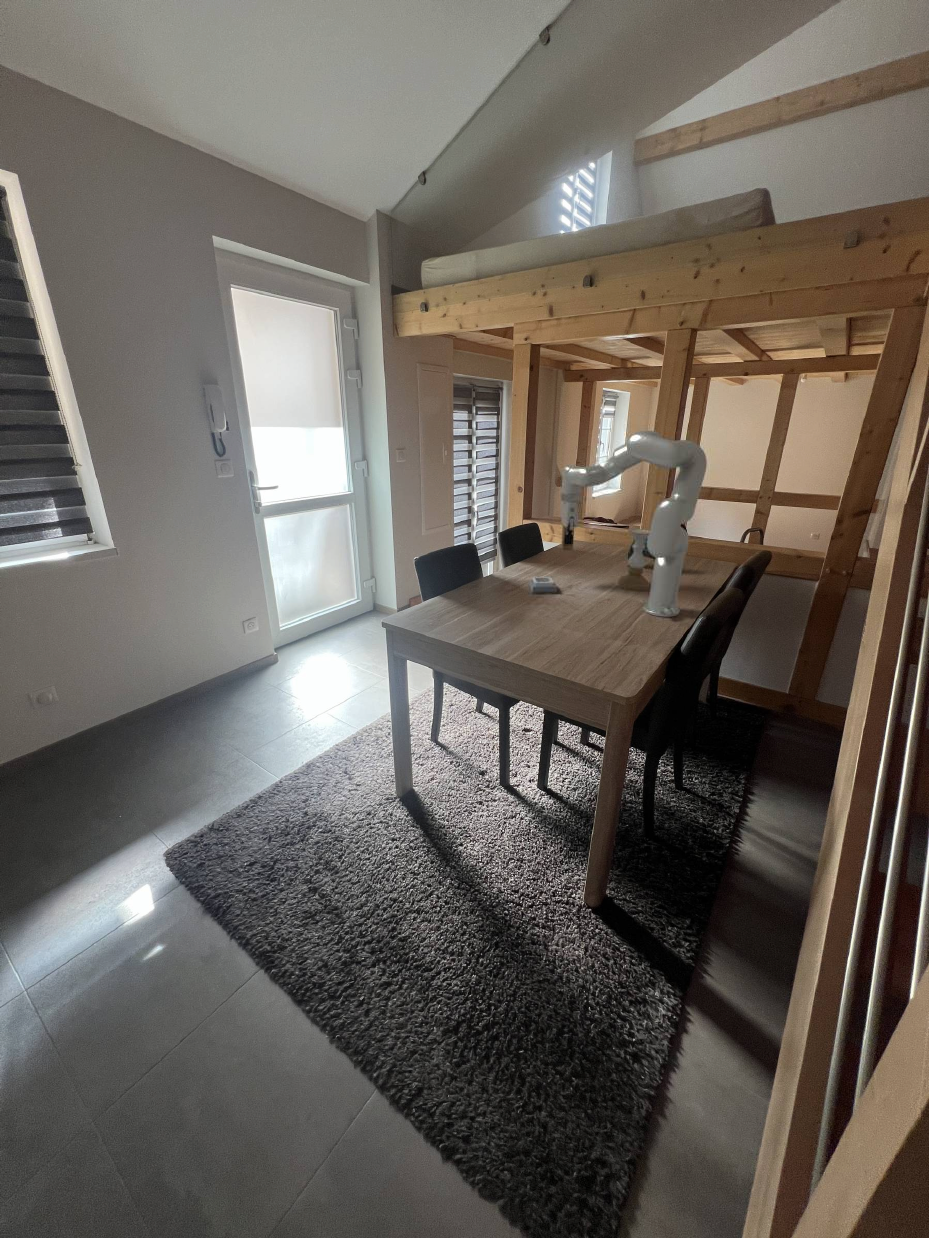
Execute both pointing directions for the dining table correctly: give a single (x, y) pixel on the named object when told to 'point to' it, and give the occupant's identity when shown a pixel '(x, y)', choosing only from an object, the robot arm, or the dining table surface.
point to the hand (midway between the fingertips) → (567, 542)
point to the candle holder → (636, 564)
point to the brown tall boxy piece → (564, 546)
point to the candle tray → (542, 585)
